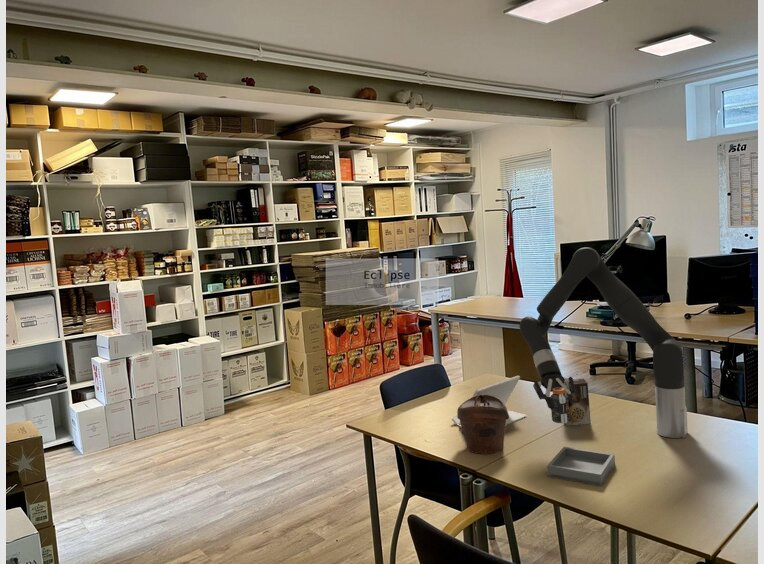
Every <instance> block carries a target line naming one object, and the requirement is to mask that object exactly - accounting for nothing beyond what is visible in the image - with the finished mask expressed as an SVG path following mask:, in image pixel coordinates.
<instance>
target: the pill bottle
mask: <svg viewBox="0 0 764 564" xmlns="http://www.w3.org/2000/svg"><path fill="white" fill-rule="evenodd" d="M550 397H551V399H552V402H553V405H554V408H553V409H552V410H551V409H550V412H551V420H552V422H554V423H556V424H566V423H567V422H569V421H570V413H569V400H568V396H567V395H566V394H565V389H564V388H560V387H557V388H553V392H552V394H550Z"/></svg>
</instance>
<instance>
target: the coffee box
mask: <svg viewBox="0 0 764 564" xmlns="http://www.w3.org/2000/svg"><path fill="white" fill-rule="evenodd" d="M573 382H574V387H575V393H574V395H571V396H572V399H573V401H574V403H573V406H572V407H569V413H570V421H569V422H567V423H565V425H566V426H579V424H580V425H591V424H592V423H591V410H590V409H591V408H590V398H589V397H590V395H589V383H588V382H587V381H586V379H585V378H574V379H573ZM563 384H564V385H565V386H566V387H567V389H568V390H569V386H568V385H567V384H566V382H564V383H563Z"/></svg>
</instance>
